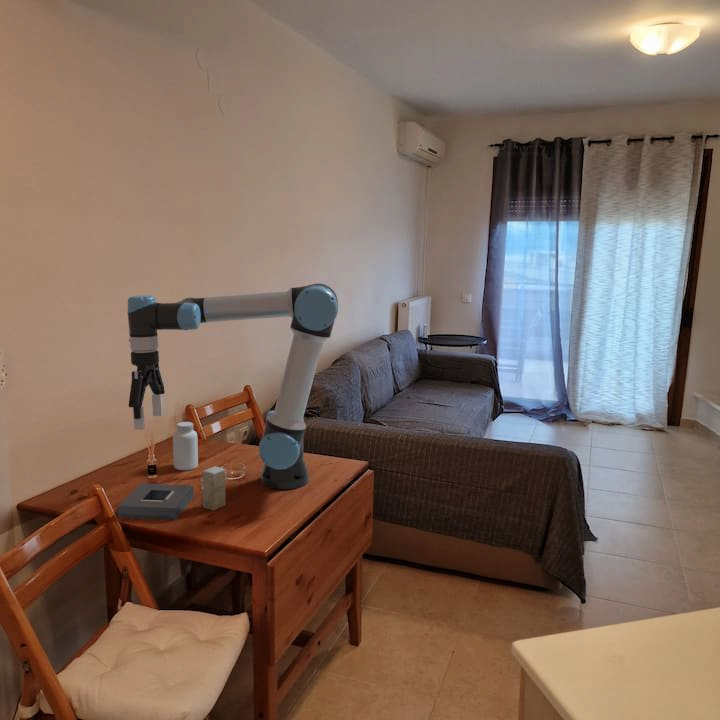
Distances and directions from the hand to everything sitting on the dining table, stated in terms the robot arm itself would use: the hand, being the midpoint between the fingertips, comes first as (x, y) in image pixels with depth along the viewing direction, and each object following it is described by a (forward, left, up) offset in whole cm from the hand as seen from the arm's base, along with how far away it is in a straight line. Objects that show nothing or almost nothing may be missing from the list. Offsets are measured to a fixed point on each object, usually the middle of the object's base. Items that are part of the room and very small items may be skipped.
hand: (149, 422), depth 181 cm
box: (-20, +5, -23) cm, 31 cm away
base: (-4, +7, -23) cm, 24 cm away
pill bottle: (-2, -25, -23) cm, 34 cm away
